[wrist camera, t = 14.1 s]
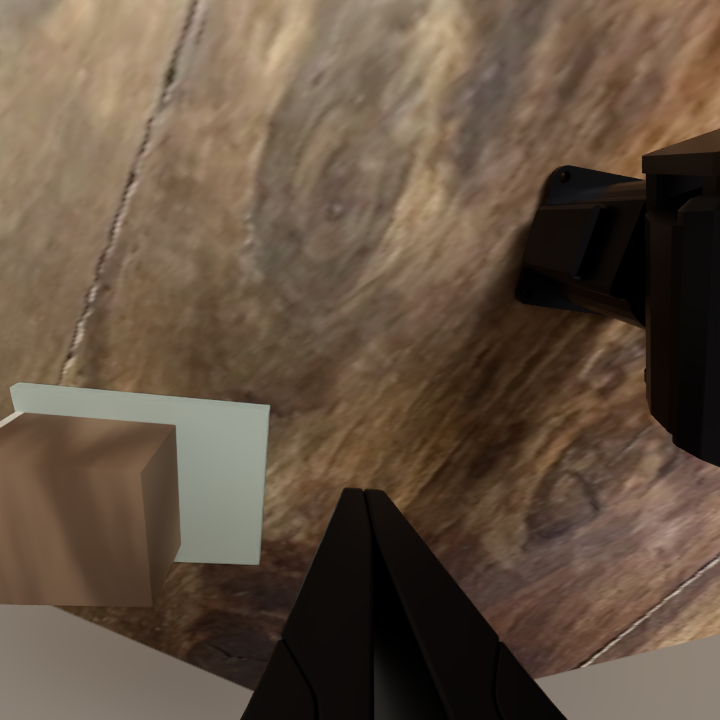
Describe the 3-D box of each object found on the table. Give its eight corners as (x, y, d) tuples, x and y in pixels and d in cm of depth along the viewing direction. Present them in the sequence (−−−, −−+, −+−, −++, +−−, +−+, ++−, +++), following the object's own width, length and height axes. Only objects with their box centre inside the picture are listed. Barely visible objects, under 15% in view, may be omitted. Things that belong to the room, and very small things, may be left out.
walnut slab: (140, 472, 16) (-62, 459, 15) (152, 607, 19) (-13, 603, 18) (175, 424, 20) (15, 411, 19) (180, 544, 23) (44, 538, 22)
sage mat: (270, 405, 21) (268, 410, 20) (260, 557, 25) (258, 564, 24) (19, 382, 19) (9, 387, 18) (54, 549, 23) (48, 557, 23)
